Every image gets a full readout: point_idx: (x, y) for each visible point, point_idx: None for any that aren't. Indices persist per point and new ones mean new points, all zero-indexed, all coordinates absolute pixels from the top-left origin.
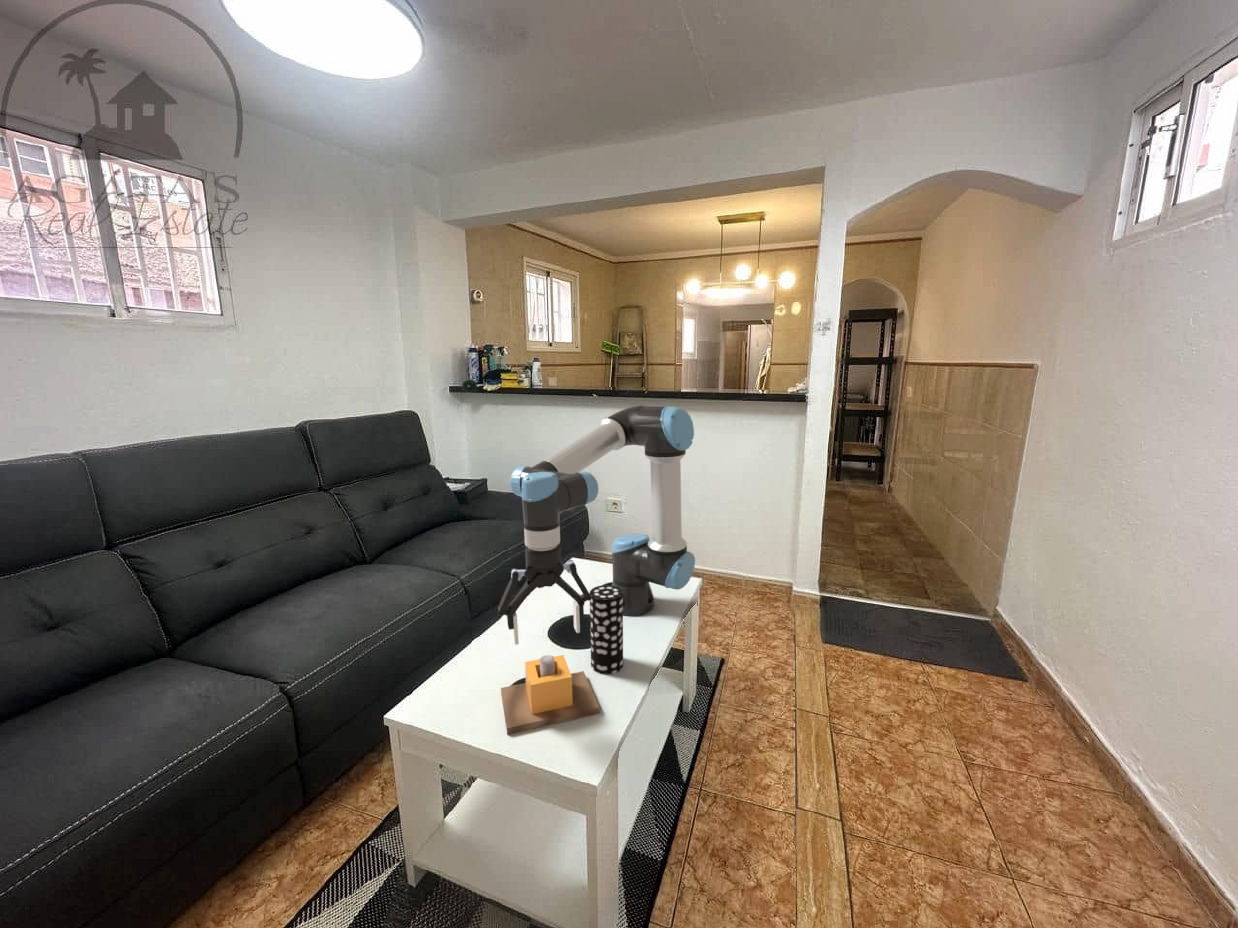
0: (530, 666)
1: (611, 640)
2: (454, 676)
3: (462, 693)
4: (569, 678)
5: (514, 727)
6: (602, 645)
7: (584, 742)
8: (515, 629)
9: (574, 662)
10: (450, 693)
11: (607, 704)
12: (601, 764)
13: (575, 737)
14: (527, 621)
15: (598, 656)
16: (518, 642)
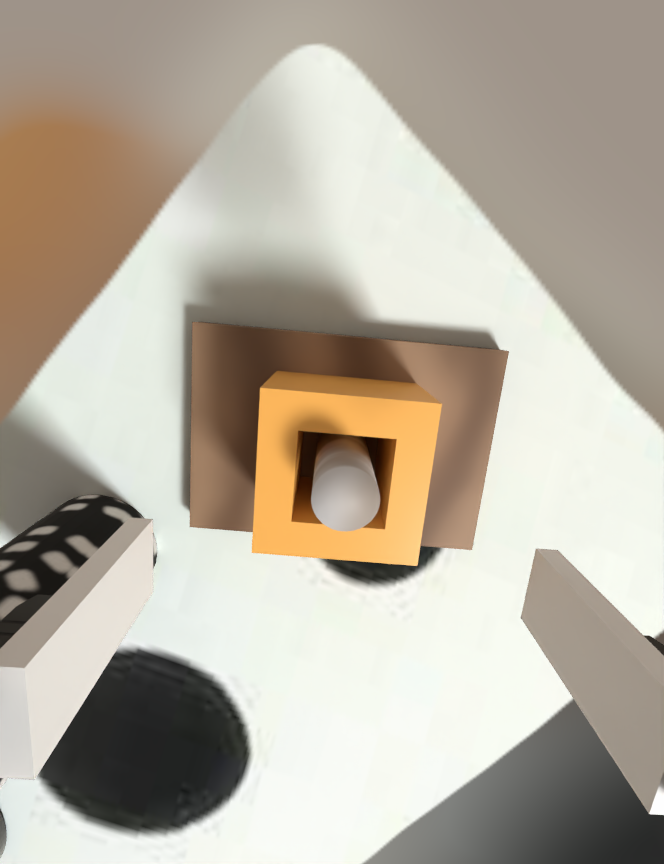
0: (404, 527)
1: (14, 561)
2: None
3: None
4: (271, 387)
5: (483, 349)
6: (69, 561)
7: (287, 208)
8: (615, 615)
9: (204, 597)
10: None
11: (160, 352)
12: (265, 82)
13: (307, 244)
14: (292, 847)
15: None
16: (541, 554)
